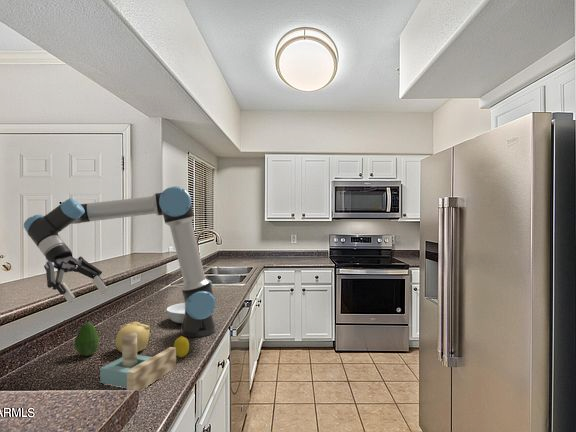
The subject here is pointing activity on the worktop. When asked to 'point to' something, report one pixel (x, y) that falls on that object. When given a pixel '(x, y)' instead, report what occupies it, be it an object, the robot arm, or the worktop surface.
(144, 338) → the sculpture
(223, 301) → the worktop surface
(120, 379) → the socket block
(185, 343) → the lemon
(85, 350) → the avocado
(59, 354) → the worktop surface
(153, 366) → the oak wall
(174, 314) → the serving bowl
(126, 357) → the dowel
